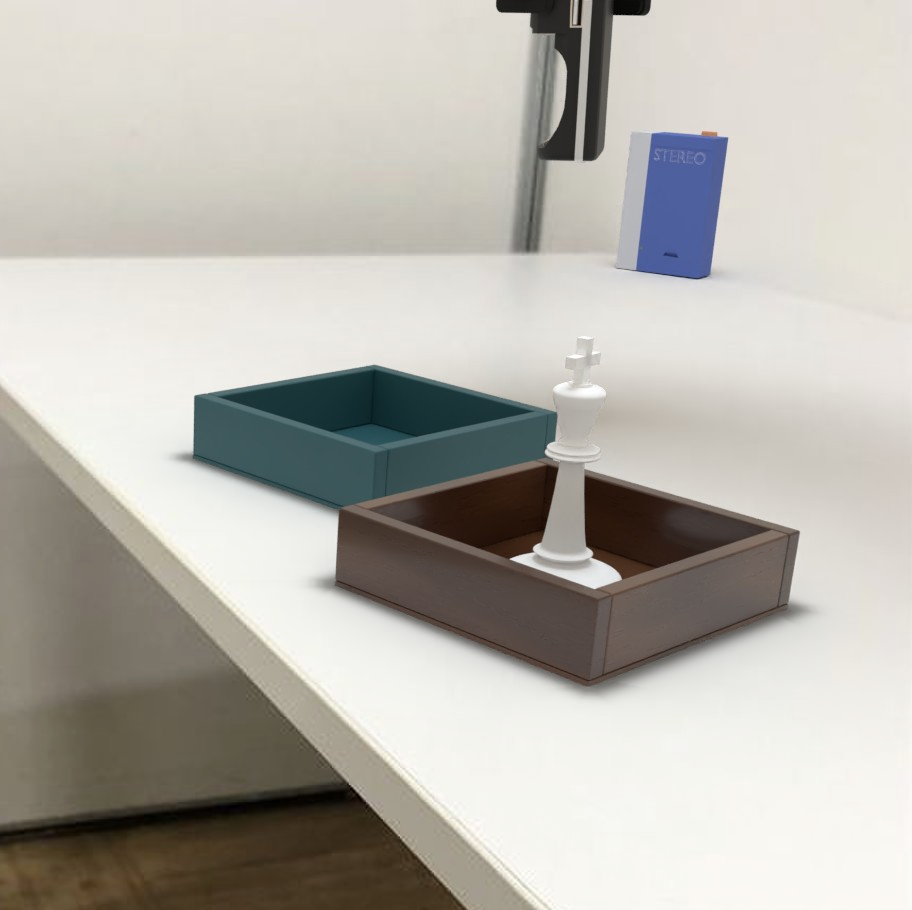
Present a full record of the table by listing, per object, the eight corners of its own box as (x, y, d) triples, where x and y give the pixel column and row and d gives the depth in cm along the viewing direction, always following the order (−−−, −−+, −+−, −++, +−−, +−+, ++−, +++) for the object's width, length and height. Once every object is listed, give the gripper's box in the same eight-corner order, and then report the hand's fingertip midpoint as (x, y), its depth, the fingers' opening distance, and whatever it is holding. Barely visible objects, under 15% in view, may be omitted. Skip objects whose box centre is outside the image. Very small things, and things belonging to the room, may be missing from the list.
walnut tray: (537, 535, 72) (545, 457, 71) (786, 617, 63) (801, 530, 62) (333, 594, 64) (338, 507, 63) (586, 697, 56) (598, 599, 54)
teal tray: (371, 429, 88) (374, 364, 87) (551, 483, 80) (558, 412, 78) (192, 465, 80) (193, 395, 79) (371, 530, 72) (375, 451, 71)
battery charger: (534, 154, 89) (545, -73, 85) (604, 155, 88) (619, -74, 84) (519, 165, 83) (531, -80, 78) (595, 166, 82) (611, -81, 78)
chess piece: (470, 589, 63) (492, 335, 60) (541, 561, 67) (566, 319, 63) (577, 623, 60) (606, 358, 57) (646, 592, 64) (678, 340, 60)
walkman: (710, 275, 142) (729, 132, 137) (697, 278, 140) (716, 134, 135) (628, 264, 146) (644, 125, 142) (614, 267, 144) (630, 127, 140)
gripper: (550, -437, 68) (520, 12, 75) (777, -370, 79) (733, 17, 86) (421, -407, 74) (403, 10, 80) (650, -348, 84) (618, 15, 91)
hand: (574, 11), depth 83 cm, fingers closed on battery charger, 7 cm apart
